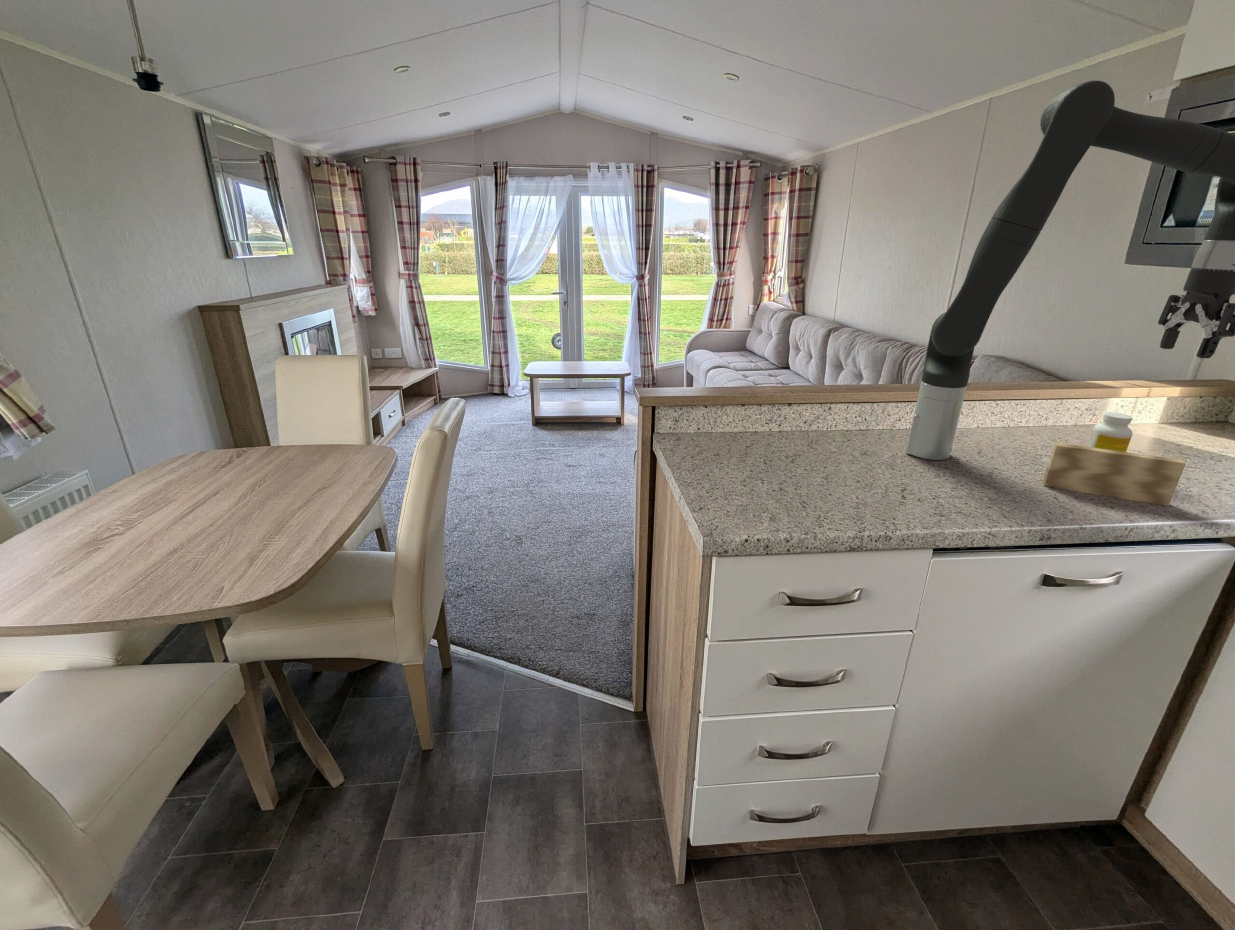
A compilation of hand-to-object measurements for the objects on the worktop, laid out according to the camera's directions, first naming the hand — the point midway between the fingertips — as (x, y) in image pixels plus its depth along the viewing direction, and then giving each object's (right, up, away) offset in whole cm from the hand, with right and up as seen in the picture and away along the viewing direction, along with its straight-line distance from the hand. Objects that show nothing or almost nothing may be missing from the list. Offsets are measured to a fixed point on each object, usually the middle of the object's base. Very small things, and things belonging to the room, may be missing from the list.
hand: (1184, 353), depth 113 cm
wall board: (-13, -27, +5) cm, 30 cm away
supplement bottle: (-5, -24, +14) cm, 28 cm away
